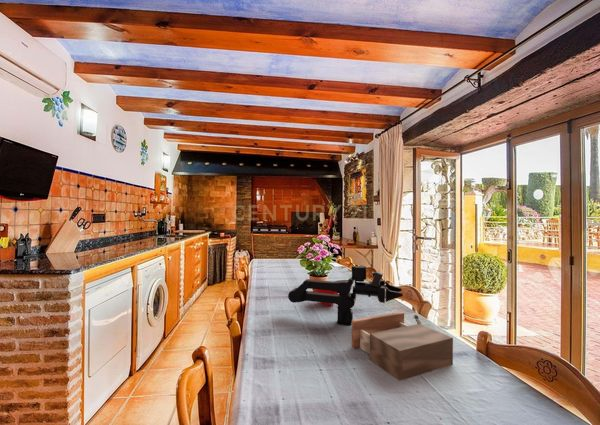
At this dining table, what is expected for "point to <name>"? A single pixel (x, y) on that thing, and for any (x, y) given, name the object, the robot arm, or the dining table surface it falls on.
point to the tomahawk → (417, 319)
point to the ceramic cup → (327, 293)
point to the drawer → (374, 328)
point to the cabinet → (411, 350)
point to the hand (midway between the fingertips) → (402, 292)
